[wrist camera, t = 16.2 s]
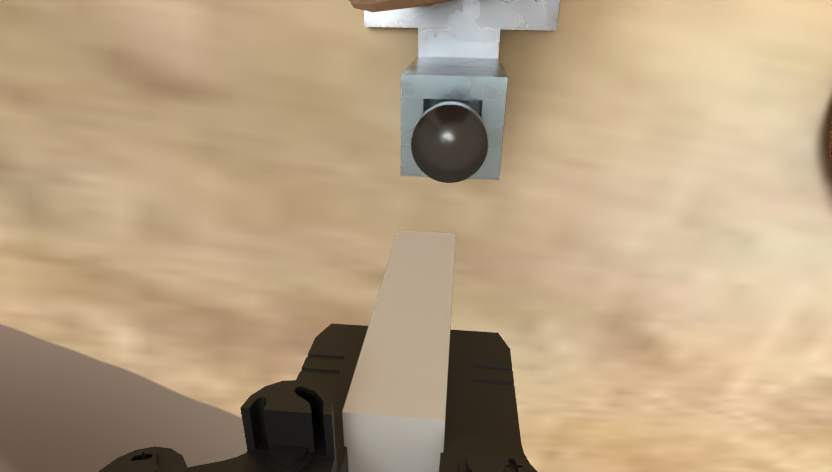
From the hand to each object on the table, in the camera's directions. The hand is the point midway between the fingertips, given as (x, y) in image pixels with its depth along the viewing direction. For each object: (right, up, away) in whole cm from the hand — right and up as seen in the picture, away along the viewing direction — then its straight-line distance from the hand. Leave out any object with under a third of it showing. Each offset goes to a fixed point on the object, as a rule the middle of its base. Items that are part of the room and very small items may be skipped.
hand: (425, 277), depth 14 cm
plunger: (+2, +10, +22) cm, 24 cm away
